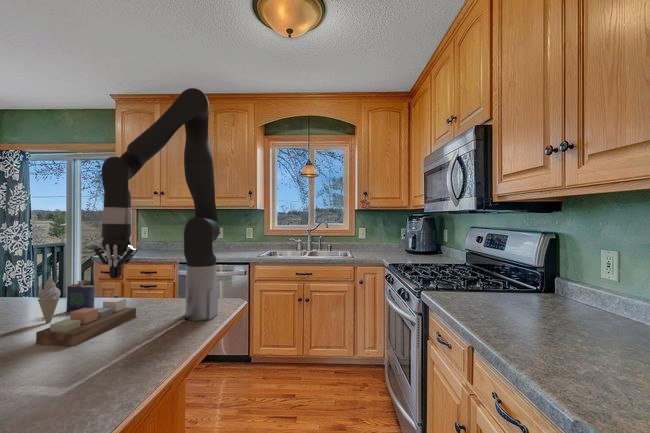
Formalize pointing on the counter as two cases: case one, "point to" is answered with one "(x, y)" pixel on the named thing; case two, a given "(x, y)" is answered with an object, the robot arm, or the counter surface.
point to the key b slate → (104, 312)
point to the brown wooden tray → (86, 329)
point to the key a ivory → (115, 304)
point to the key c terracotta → (85, 315)
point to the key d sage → (65, 325)
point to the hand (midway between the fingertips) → (115, 278)
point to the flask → (79, 296)
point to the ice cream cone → (49, 299)
